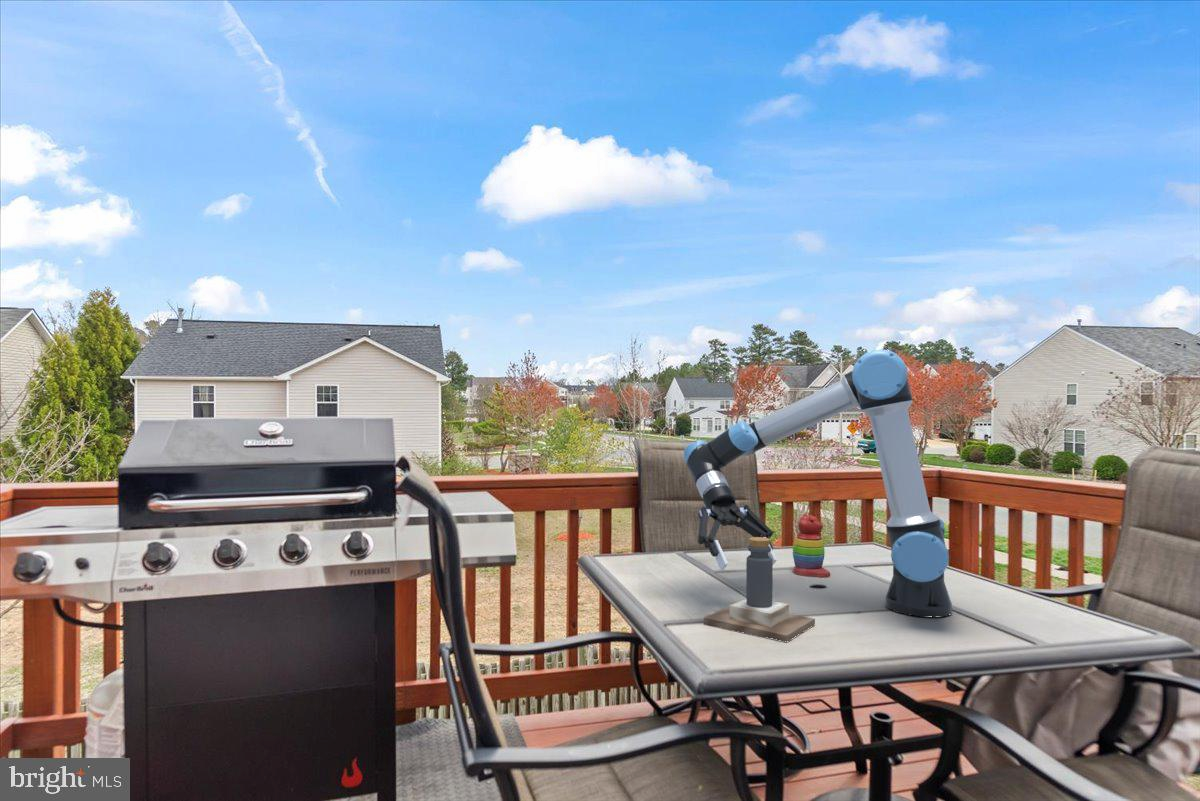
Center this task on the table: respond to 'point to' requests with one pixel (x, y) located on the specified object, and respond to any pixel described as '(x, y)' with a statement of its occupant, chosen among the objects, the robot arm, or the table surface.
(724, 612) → the plinth
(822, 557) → the stacking bear
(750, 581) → the bottle
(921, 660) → the table surface
